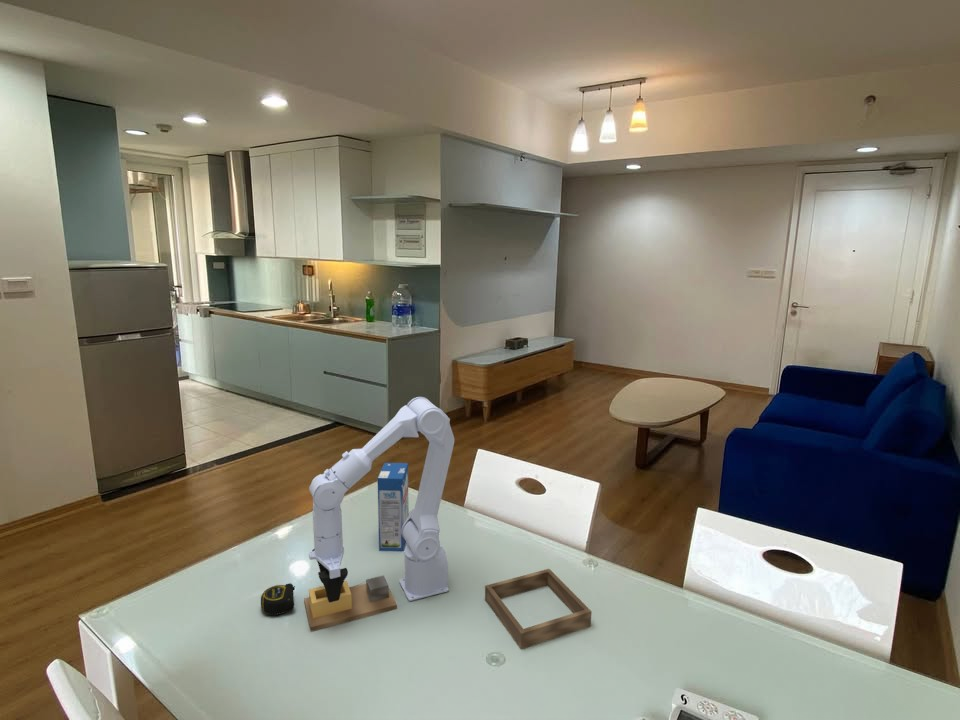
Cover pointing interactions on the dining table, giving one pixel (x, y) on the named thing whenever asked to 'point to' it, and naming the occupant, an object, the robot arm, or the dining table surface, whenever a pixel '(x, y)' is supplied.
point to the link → (323, 606)
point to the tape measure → (278, 599)
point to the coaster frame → (543, 630)
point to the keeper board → (357, 604)
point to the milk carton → (392, 505)
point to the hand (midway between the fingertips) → (330, 589)
